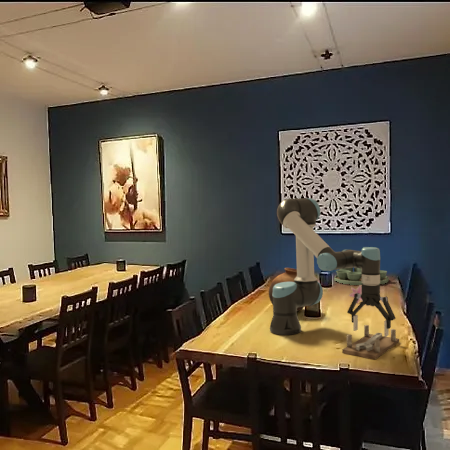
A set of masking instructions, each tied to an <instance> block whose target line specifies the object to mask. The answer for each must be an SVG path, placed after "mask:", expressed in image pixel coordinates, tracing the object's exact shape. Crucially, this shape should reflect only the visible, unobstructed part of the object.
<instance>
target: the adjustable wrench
mask: <svg viewBox="0 0 450 450" xmlns="http://www.w3.org/2000/svg"><path fill="white" fill-rule="evenodd" d="M382 336H383V333H382V332H376V333H375V334H373V336H372V337H371V338H370V339H369V340H367V341H366V342H364V343H360V344H356V350H358V351H360V349H366V350H367V351H370V350H372V349H374V346H373V345H372V344H374V343H375V339H378V340H379V339H380V338H381V337H382Z"/></svg>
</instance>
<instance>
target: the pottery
mask: <svg viewBox="0 0 450 450" xmlns="http://www.w3.org/2000/svg"><path fill="white" fill-rule="evenodd" d="M284 271H285V272H283V273H281V274H279V275H277V276H275V277H274V279H272V281H271V283H270V286H269V288H268V298H269V300H270V303H271V304H272V306H273V296H272V293H273V287H274V285H276V284H278V283H281V282H294V279H295V278H296V277H297V268H291V267H284ZM304 308H305V306H304V307H298V308H297V312H299V311H301V310H303V309H304Z"/></svg>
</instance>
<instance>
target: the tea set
mask: <svg viewBox="0 0 450 450" xmlns="http://www.w3.org/2000/svg"><path fill="white" fill-rule="evenodd" d="M335 272H336V275H334V278H333V279H334V282H335V281H337V282H339V283H338V284H340V283H343V284H342V285H344V284H350V285H349V286H351V285H362V284H363V283H362V269H360V268H353V267H352V268H345V269H337V270H335ZM387 274H388V271H387V270H381V269H380V284H382V285H386V284H387V283H388V282H389V280H390V277H388V276H387ZM337 282H336V283H337ZM385 283H386V284H385ZM380 284H379V285H380ZM380 286H381V285H380Z"/></svg>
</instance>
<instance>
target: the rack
mask: <svg viewBox="0 0 450 450" xmlns="http://www.w3.org/2000/svg"><path fill="white" fill-rule="evenodd" d="M363 330H364V332H363V333H364V336H363V337H361V338H359V339H357V340H356V341H354V342H353V335H352V334H346V346H345V347H344V348H343V349H341V350H342V351H341V353H342V354H346V355H351V356H356V357H361V358H365V359H366V358H367V359H370V360H377V359H379V358H380V357H381V356H382V355H384V354H385V353H388V351H390V350H391V349H392V348H393V347H395V346H396V345H397V344H399V343H400V338H396V337H397V333H396V332H397V331H396V330H397V329H394V328H390V336H387V337H385V336H384V335H382V337H381V338H380V339H379V340H378V339H375V343H374V344H372V345H373V346H374V349H372V350H370V351H367V350H366V349H360V351H358V350H356V344H360V343H364V342H366V341H367V340H369V339H370V338H371V337H372V336H373V335H374V334H371V333H370V326H369V325H368V324H365V325H364V327H363Z"/></svg>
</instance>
